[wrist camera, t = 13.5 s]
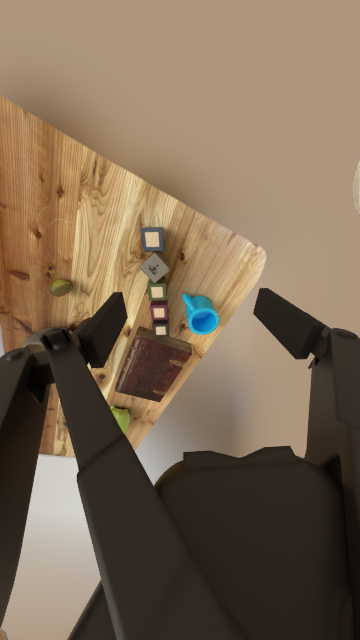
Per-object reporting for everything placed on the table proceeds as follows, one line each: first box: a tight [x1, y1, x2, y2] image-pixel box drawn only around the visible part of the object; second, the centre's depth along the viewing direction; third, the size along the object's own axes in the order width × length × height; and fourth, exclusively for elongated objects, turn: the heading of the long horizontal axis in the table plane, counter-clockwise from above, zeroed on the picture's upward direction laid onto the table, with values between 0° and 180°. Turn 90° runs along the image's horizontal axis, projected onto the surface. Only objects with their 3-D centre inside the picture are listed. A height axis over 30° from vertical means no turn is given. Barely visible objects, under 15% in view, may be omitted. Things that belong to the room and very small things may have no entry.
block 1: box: [140, 227, 164, 251], centre depth 36 cm, size 4×4×5 cm
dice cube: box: [139, 251, 170, 283], centre depth 38 cm, size 5×5×5 cm
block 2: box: [147, 278, 167, 300], centre depth 42 cm, size 4×4×5 cm
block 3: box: [150, 300, 168, 320], centre depth 45 cm, size 4×4×5 cm
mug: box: [182, 293, 219, 335], centre depth 44 cm, size 12×8×8 cm
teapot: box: [110, 406, 130, 434], centre depth 70 cm, size 20×13×13 cm
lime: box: [49, 279, 72, 297], centre depth 40 cm, size 4×5×5 cm
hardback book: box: [115, 327, 192, 402], centre depth 57 cm, size 29×19×5 cm, turn 155°
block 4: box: [152, 319, 169, 337], centre depth 48 cm, size 4×4×5 cm
